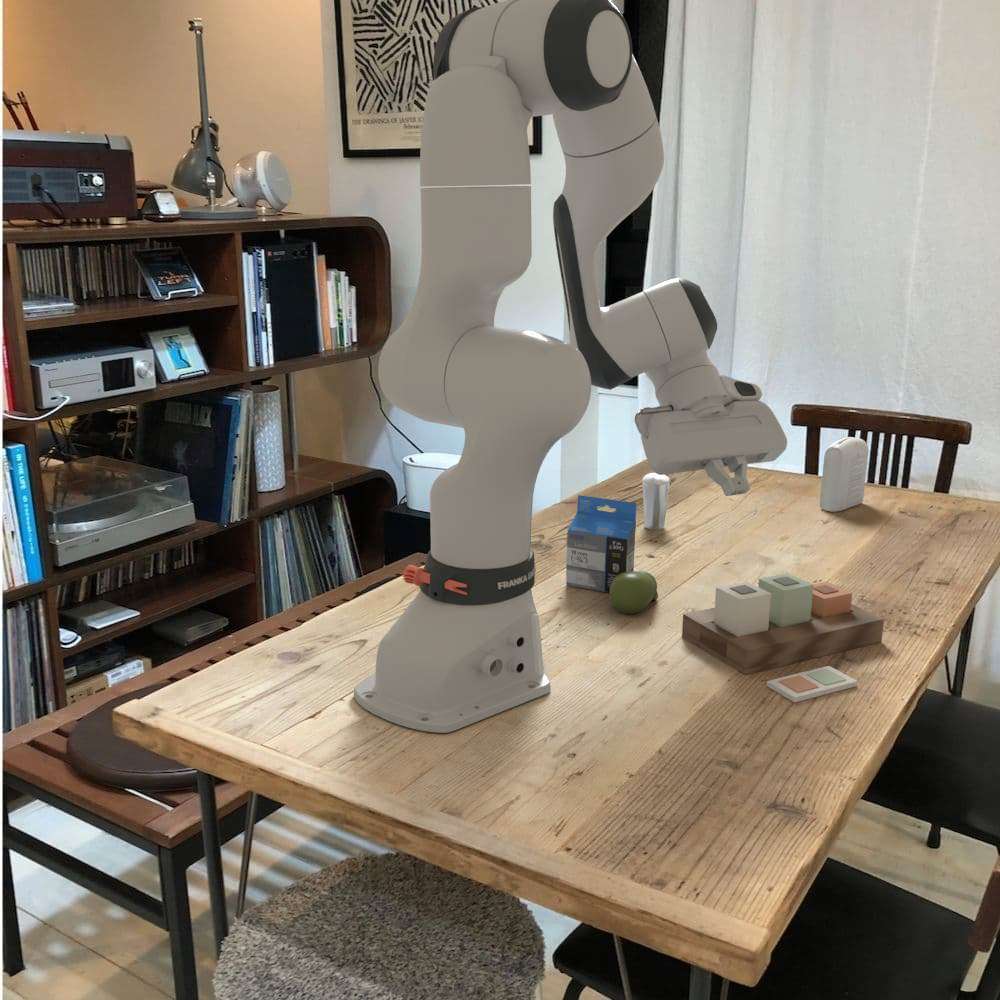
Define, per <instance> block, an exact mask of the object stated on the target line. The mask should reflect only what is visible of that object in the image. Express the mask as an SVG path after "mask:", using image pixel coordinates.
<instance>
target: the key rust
mask: <svg viewBox="0 0 1000 1000" xmlns="http://www.w3.org/2000/svg"><path fill="white" fill-rule="evenodd" d="M812 584H813V596H812V607H811V613H813V614H815V615H817V616H819V617H821V618H826V617H830V616H835V615H839V614H844V613H848V612H850V611H851V604H852V599H853V592H851V591H849V590H848V589H847V590H846V589H844V588H842V587H840V586H837V585H835V584H832V583H830V582H828V581H822V582H817V583H812Z"/></svg>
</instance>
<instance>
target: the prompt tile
mask: <svg viewBox="0 0 1000 1000" xmlns="http://www.w3.org/2000/svg"><path fill="white" fill-rule="evenodd" d="M857 686H858V680H856V679H854V678H852V677H851V676H849V675H848V674H845V673H843V672H841V671H840V670H838V669H835V668H834V667H832V666H830V665H826V666H823V667H818V668H814V669H811V670H807V671H802V672H798V673H795V674H789V675H787V676H781V677H778V678H774V679H771V680H767V681H766V687H768V688H770V689H771V690H772V691H774V692H776V693H778V694H779V695H781V696H783V697H784V698H786V699H787V700H790V702H793V703H798V702H802V701H806V700H810V699H813V698H816V697H820V696H824V695H827V694H833V693H835V692H839V691H843V690H846V689H847V690H848V689H850V688H854V687H857Z"/></svg>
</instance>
